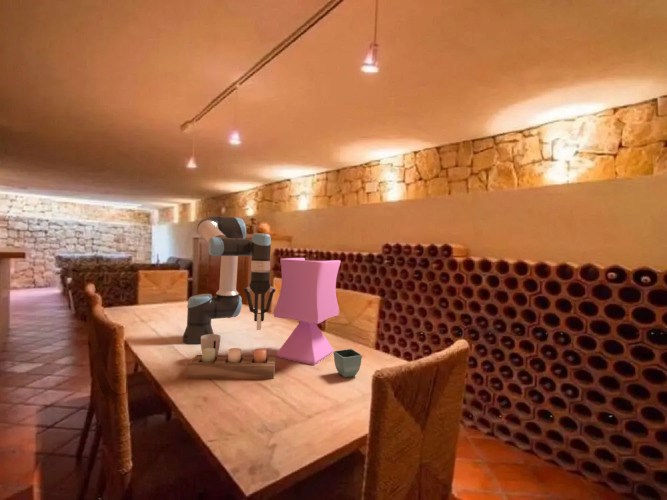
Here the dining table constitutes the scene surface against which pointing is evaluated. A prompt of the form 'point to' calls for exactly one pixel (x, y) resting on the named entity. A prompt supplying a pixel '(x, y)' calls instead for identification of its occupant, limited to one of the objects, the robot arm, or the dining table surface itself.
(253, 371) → the brown wooden long block
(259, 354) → the button terracotta
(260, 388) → the dining table surface
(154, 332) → the dining table surface
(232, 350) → the peach rounded knob
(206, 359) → the button sage
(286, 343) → the pink table lamp
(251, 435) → the dining table surface
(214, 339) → the cup
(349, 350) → the flower pot
